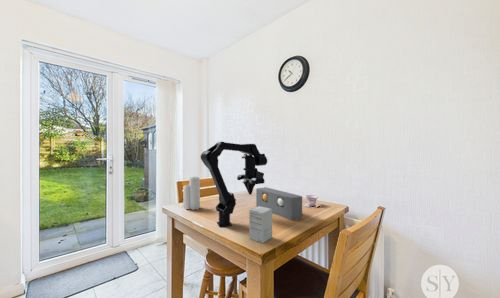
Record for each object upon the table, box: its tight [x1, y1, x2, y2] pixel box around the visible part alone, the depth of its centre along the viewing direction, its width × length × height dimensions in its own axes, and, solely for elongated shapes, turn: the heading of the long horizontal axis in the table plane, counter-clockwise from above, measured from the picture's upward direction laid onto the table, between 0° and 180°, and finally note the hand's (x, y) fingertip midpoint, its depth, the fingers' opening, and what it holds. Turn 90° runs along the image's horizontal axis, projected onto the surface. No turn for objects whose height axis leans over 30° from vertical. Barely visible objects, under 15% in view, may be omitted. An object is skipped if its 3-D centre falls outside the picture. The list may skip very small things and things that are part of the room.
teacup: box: [302, 194, 322, 209], centre depth 143 cm, size 12×12×6 cm
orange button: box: [263, 194, 268, 201], centre depth 133 cm, size 2×4×4 cm, turn 35°
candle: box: [182, 176, 201, 211], centre depth 138 cm, size 11×7×20 cm, turn 81°
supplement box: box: [248, 206, 273, 244], centre depth 93 cm, size 7×7×13 cm
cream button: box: [278, 198, 284, 206], centre depth 122 cm, size 2×4×4 cm, turn 35°
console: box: [255, 186, 303, 221], centre depth 129 cm, size 8×32×12 cm, turn 35°
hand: (250, 194), depth 119 cm, fingers closed
